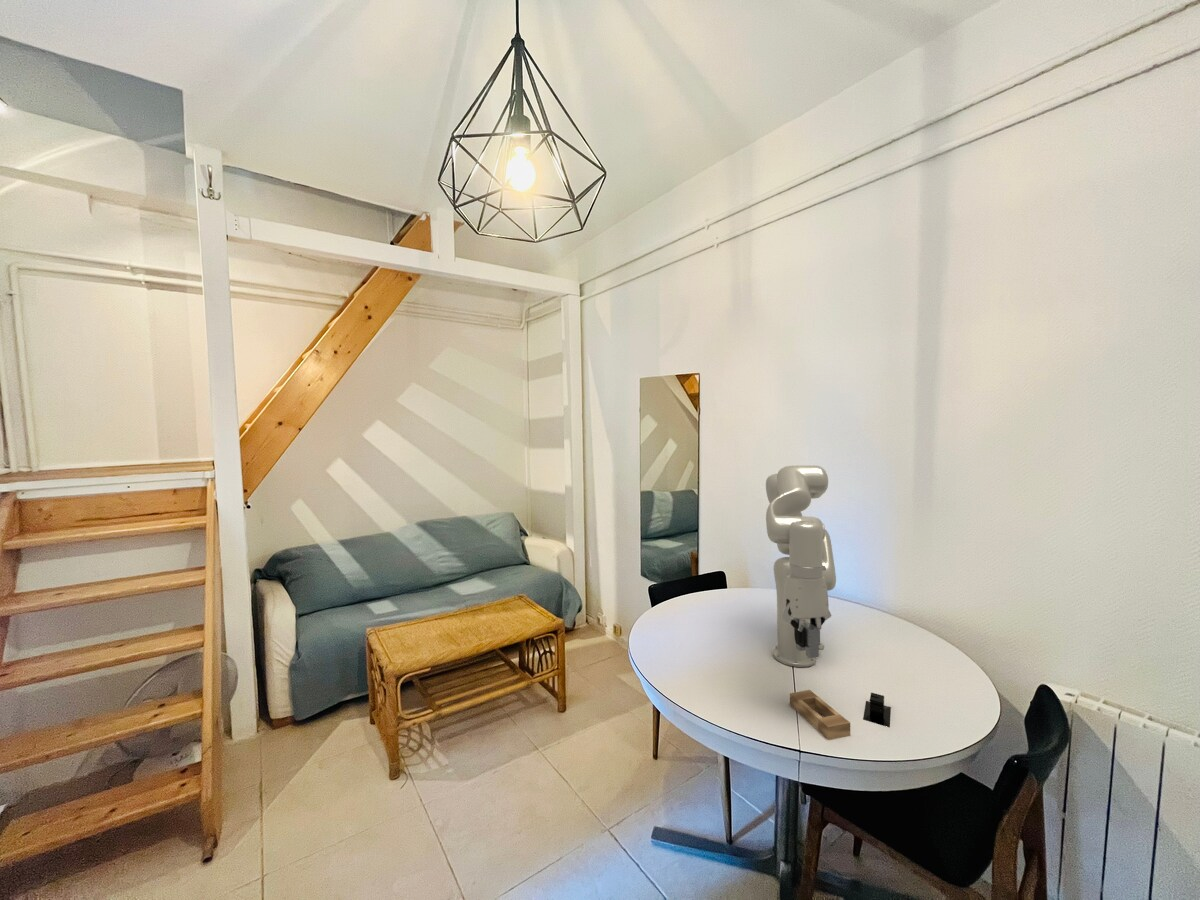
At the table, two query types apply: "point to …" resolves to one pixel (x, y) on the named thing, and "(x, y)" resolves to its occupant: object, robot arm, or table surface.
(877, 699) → the black stepped block
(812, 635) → the clip
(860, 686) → the table surface
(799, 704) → the slotted wooden block
